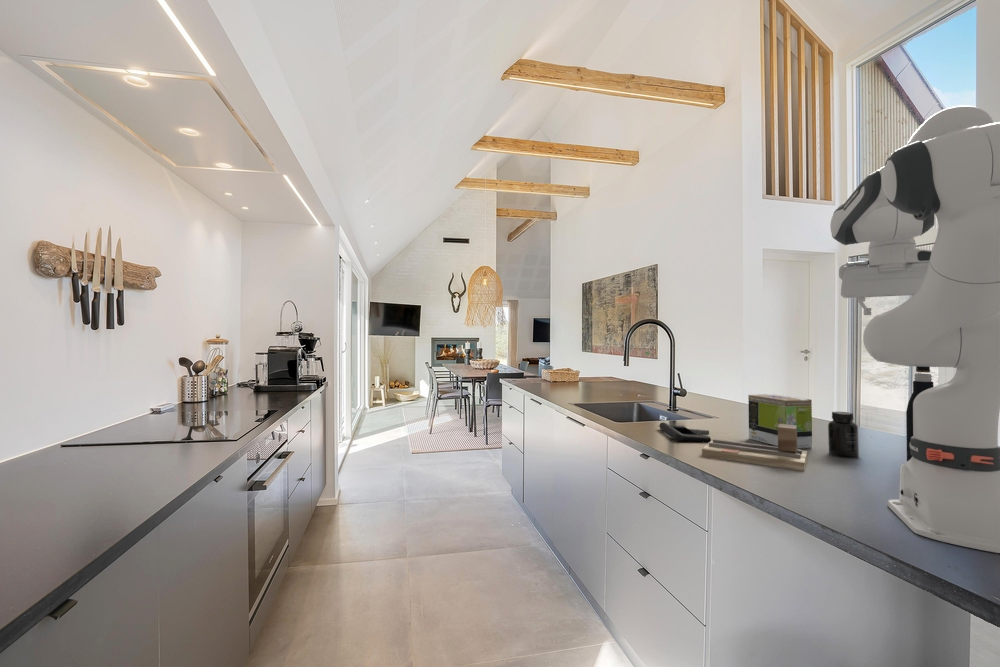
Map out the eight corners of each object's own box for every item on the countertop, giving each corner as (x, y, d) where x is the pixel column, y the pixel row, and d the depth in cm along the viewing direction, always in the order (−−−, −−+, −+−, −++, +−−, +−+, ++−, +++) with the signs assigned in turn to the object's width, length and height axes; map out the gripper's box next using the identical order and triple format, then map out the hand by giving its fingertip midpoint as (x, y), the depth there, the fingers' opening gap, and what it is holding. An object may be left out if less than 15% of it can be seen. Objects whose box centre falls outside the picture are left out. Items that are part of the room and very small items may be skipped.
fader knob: (795, 456, 117) (795, 428, 117) (778, 453, 119) (777, 427, 119) (797, 452, 121) (797, 425, 121) (779, 450, 123) (779, 423, 123)
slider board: (804, 470, 112) (804, 458, 112) (702, 455, 126) (701, 445, 126) (807, 458, 123) (807, 447, 123) (712, 445, 137) (712, 436, 137)
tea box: (813, 447, 134) (813, 398, 134) (785, 450, 132) (785, 400, 132) (773, 436, 149) (772, 392, 149) (747, 438, 147) (746, 393, 147)
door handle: (701, 424, 161) (655, 421, 162) (724, 437, 141) (672, 433, 142) (700, 433, 161) (655, 430, 162) (724, 447, 141) (672, 443, 142)
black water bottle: (944, 475, 107) (943, 351, 107) (908, 471, 111) (907, 350, 111) (939, 469, 112) (938, 350, 112) (905, 464, 116) (904, 350, 116)
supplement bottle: (857, 453, 127) (856, 411, 127) (860, 459, 121) (860, 415, 121) (827, 450, 131) (826, 409, 131) (829, 456, 125) (828, 413, 125)
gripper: (838, 261, 114) (839, 315, 114) (951, 251, 101) (952, 312, 101) (838, 264, 119) (839, 316, 119) (946, 255, 106) (947, 313, 106)
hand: (892, 314), depth 110 cm, fingers open, 8 cm apart
